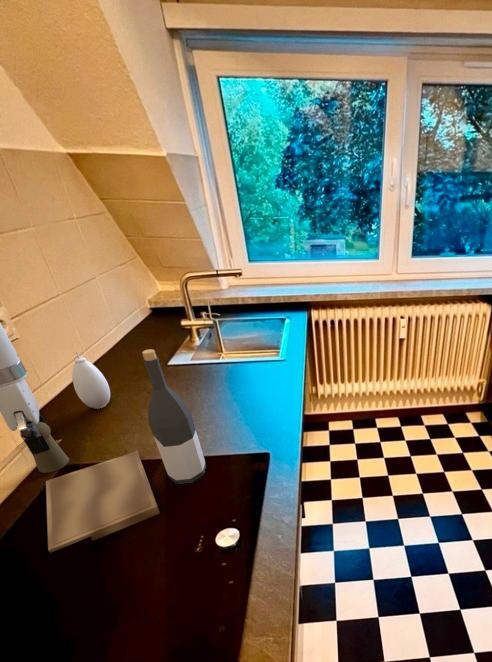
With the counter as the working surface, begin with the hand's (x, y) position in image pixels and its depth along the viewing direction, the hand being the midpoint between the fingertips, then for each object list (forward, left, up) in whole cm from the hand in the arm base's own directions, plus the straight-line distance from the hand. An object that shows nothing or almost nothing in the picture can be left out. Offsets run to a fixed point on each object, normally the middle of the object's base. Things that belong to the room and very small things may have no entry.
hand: (41, 441), depth 87 cm
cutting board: (+8, -20, -7) cm, 23 cm away
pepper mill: (0, 0, -7) cm, 7 cm away
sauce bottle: (+12, +23, -7) cm, 27 cm away
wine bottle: (+25, -22, -7) cm, 34 cm away
